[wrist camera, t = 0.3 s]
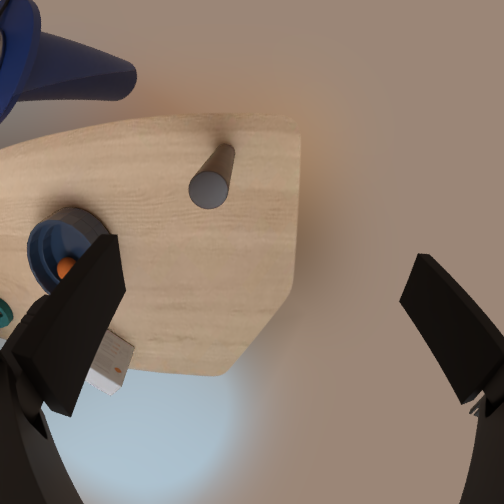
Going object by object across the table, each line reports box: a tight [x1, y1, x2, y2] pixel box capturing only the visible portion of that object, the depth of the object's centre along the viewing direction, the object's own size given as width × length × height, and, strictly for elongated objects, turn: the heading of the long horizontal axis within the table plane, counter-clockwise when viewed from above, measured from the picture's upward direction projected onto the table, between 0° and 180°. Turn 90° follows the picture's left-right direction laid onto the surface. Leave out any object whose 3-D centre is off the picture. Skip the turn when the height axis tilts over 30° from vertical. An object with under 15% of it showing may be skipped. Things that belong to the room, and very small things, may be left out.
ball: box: [57, 257, 76, 279], centre depth 40 cm, size 4×4×4 cm
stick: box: [189, 144, 235, 209], centre depth 27 cm, size 3×3×20 cm
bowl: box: [27, 208, 109, 295], centre depth 38 cm, size 15×15×6 cm
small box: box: [85, 329, 135, 396], centre depth 46 cm, size 8×6×10 cm
